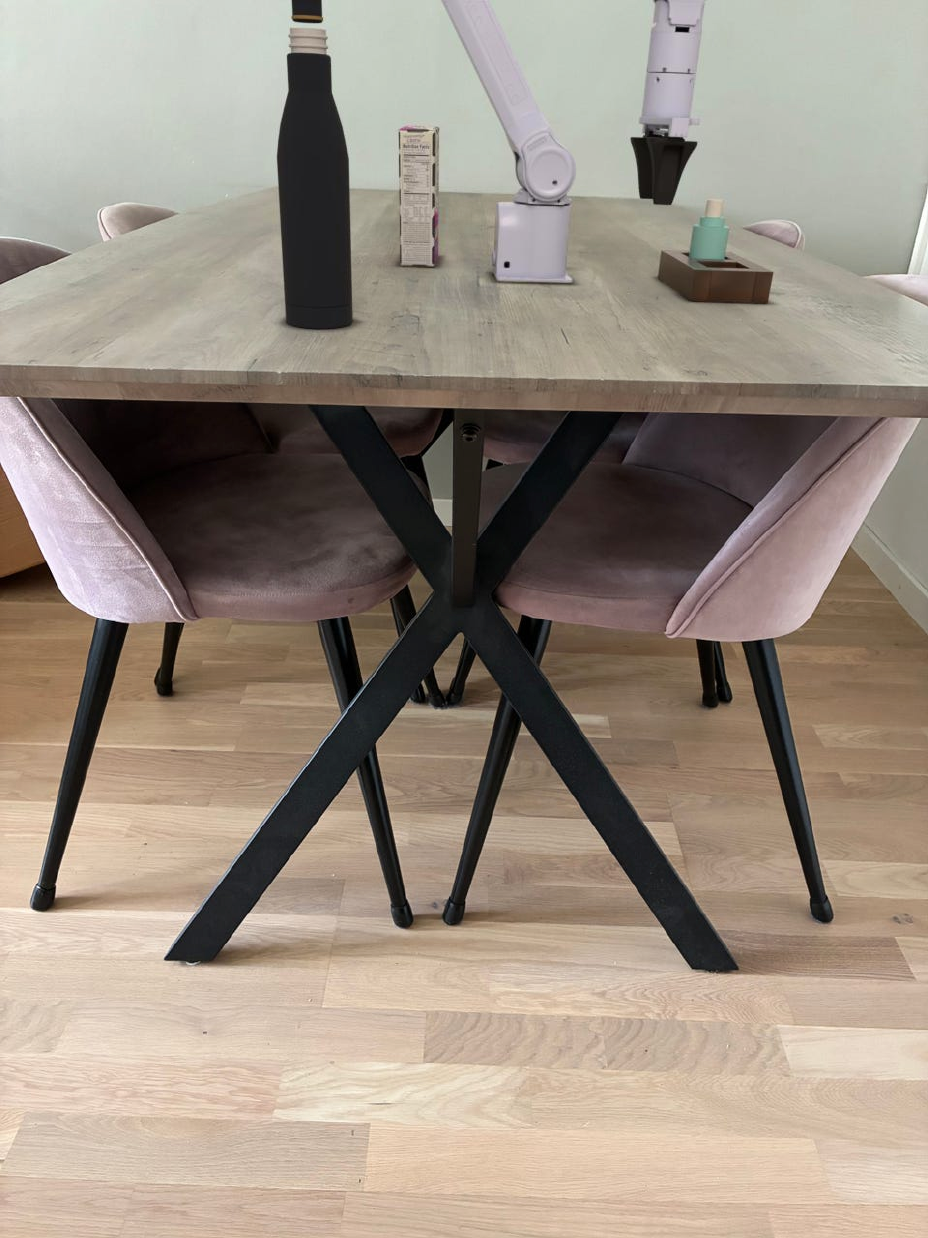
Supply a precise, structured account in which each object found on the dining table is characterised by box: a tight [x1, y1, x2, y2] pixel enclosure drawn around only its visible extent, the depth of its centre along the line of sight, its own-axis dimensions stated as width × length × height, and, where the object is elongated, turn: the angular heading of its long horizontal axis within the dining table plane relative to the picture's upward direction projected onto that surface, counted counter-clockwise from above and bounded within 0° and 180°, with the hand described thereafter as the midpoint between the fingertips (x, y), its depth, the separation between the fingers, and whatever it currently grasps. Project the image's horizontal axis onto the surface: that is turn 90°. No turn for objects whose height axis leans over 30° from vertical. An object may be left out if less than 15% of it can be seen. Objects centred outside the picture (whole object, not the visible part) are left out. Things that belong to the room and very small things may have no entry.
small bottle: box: [689, 198, 730, 259], centre depth 115 cm, size 4×4×10 cm
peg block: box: [657, 249, 774, 304], centre depth 114 cm, size 9×16×4 cm, turn 3°
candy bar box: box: [397, 125, 440, 268], centre depth 123 cm, size 11×5×16 cm, turn 179°
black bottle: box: [276, 0, 353, 330], centre depth 82 cm, size 6×6×30 cm
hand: (654, 201), depth 114 cm, fingers open, 7 cm apart
